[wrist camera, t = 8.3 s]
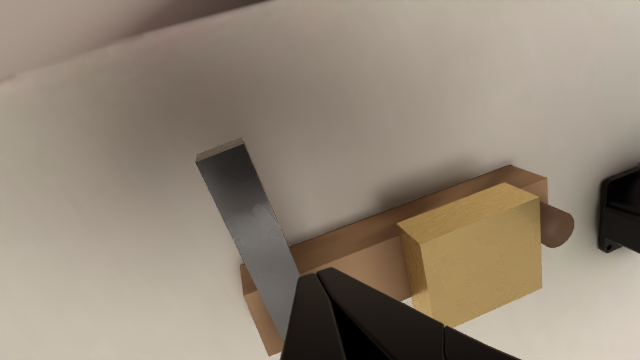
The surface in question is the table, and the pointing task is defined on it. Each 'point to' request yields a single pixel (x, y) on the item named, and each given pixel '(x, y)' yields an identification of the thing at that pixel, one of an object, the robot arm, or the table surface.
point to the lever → (252, 226)
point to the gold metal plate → (473, 254)
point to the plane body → (395, 244)
